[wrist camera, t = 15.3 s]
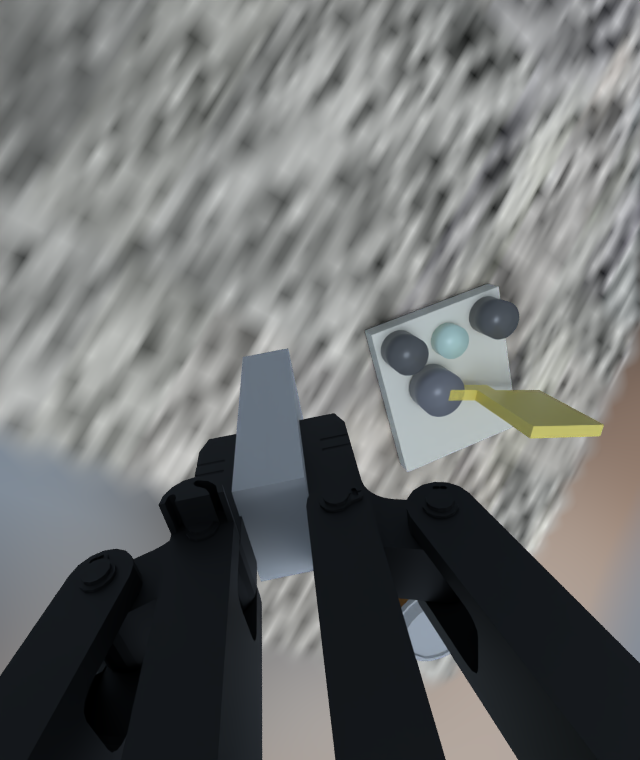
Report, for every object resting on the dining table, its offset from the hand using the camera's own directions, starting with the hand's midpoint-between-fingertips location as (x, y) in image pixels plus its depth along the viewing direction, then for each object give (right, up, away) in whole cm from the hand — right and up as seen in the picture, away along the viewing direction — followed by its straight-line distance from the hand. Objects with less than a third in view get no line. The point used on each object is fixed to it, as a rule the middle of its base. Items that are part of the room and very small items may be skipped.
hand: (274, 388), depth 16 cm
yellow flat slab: (+18, 0, +38) cm, 42 cm away
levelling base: (+16, +1, +39) cm, 42 cm away
